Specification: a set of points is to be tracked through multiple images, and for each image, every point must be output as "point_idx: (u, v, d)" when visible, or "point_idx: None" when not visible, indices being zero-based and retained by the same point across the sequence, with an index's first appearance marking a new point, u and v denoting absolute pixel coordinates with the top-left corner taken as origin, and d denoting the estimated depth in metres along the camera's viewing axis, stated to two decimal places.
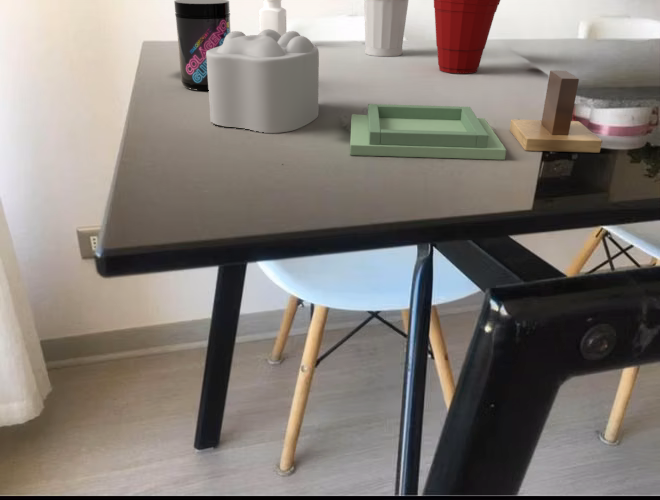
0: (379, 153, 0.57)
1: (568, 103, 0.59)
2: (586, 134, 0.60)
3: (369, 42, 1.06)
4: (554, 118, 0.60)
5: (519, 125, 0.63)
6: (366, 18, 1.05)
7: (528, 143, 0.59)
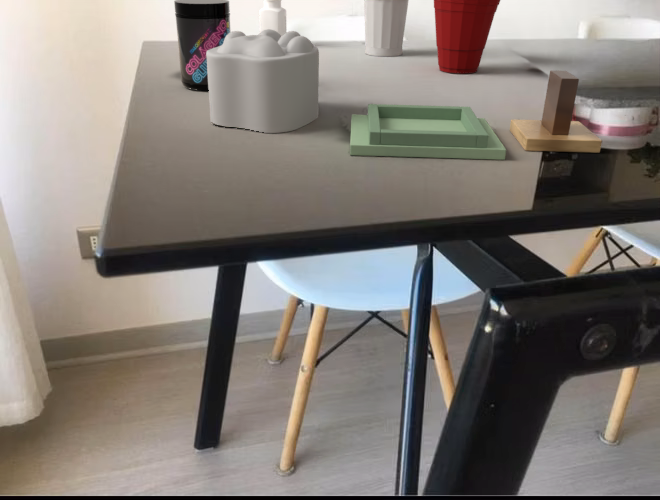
0: (379, 153, 0.57)
1: (568, 103, 0.59)
2: (586, 134, 0.60)
3: (369, 42, 1.06)
4: (554, 118, 0.60)
5: (519, 125, 0.63)
6: (366, 18, 1.05)
7: (528, 143, 0.59)
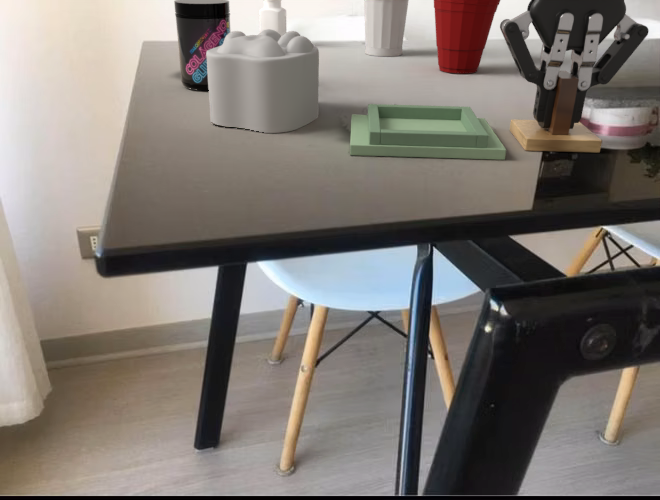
0: (379, 153, 0.57)
1: (568, 103, 0.59)
2: (586, 134, 0.60)
3: (369, 42, 1.06)
4: (554, 118, 0.60)
5: (519, 125, 0.63)
6: (366, 18, 1.05)
7: (528, 143, 0.59)
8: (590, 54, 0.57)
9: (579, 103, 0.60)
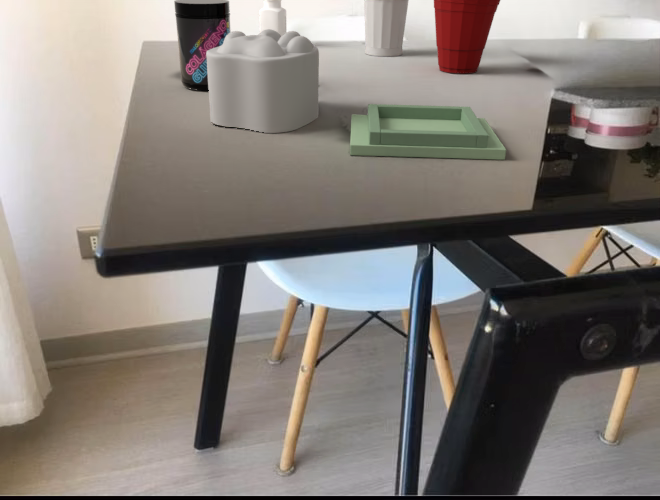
0: (379, 153, 0.57)
1: None
2: None
3: (369, 42, 1.06)
4: None
5: None
6: (366, 18, 1.05)
7: None
8: None
9: None
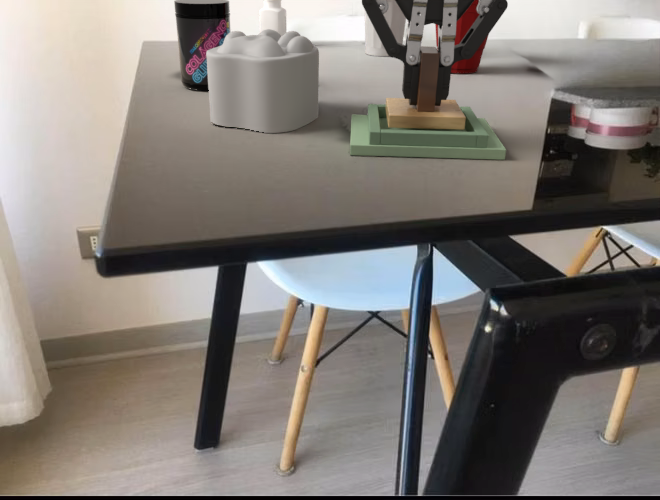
0: (379, 153, 0.57)
1: (431, 79, 0.57)
2: (453, 111, 0.59)
3: (369, 42, 1.06)
4: (418, 94, 0.58)
5: (390, 103, 0.62)
6: (366, 18, 1.05)
7: (390, 120, 0.58)
8: (449, 28, 0.56)
9: (445, 79, 0.59)
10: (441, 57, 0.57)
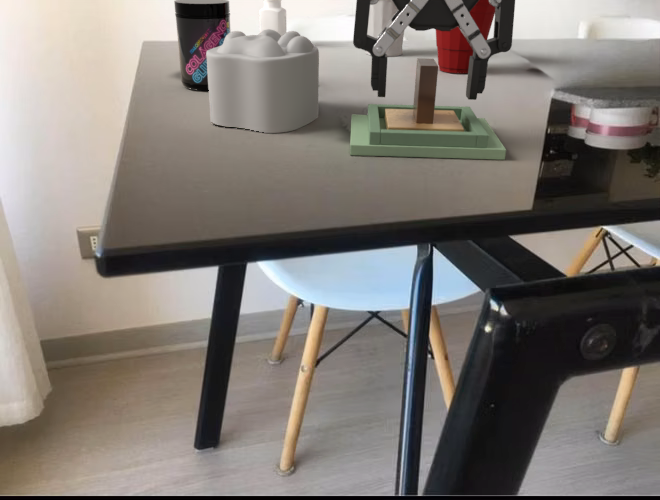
0: (379, 153, 0.57)
1: (429, 91, 0.58)
2: (452, 123, 0.60)
3: None
4: (417, 106, 0.59)
5: (389, 114, 0.62)
6: None
7: None
8: (469, 26, 0.55)
9: (481, 72, 0.58)
10: (478, 50, 0.57)
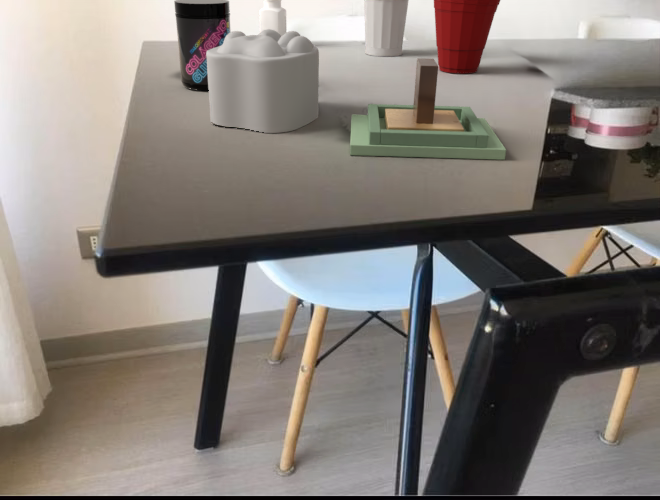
0: (379, 153, 0.57)
1: (429, 91, 0.58)
2: (452, 123, 0.60)
3: (369, 42, 1.06)
4: (417, 106, 0.59)
5: (389, 114, 0.62)
6: (366, 18, 1.05)
7: None
8: None
9: None
10: None
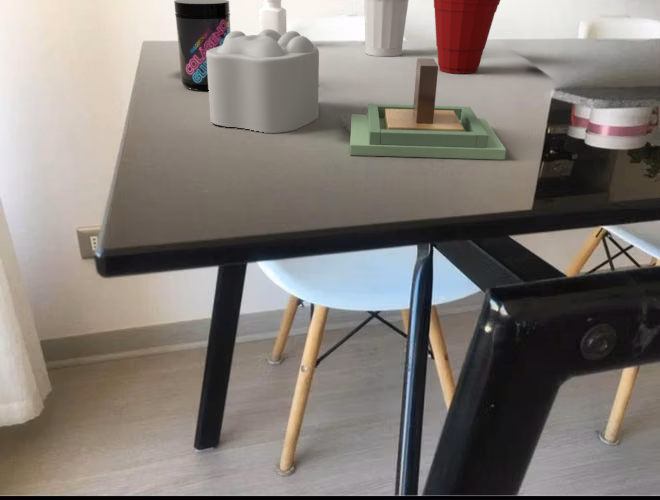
0: (379, 153, 0.57)
1: (429, 91, 0.58)
2: (452, 123, 0.60)
3: (369, 42, 1.06)
4: (417, 106, 0.59)
5: (389, 114, 0.62)
6: (366, 18, 1.05)
7: None
8: None
9: None
10: None
